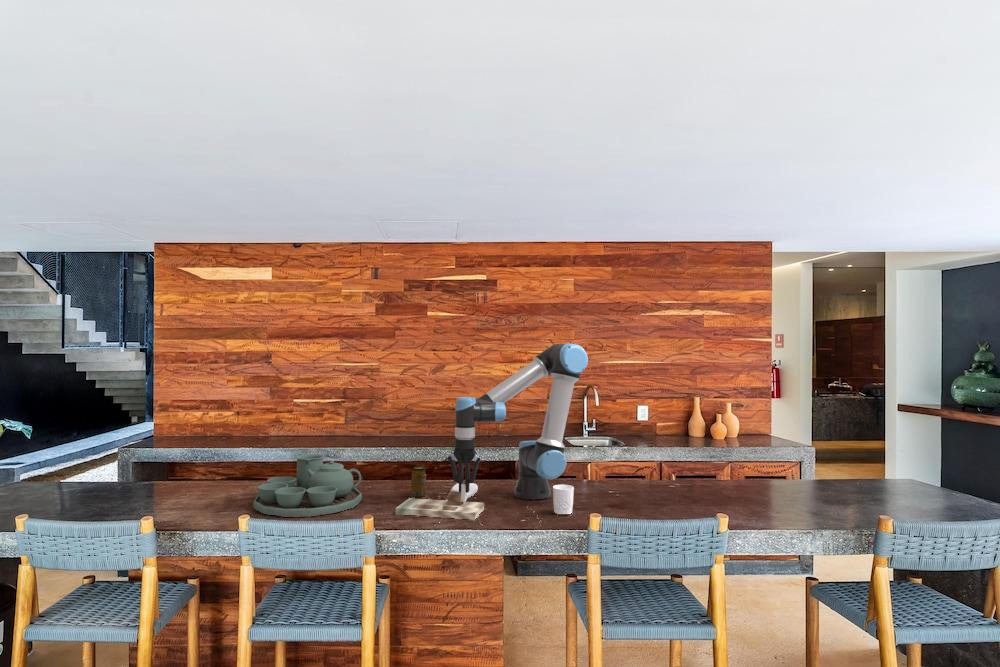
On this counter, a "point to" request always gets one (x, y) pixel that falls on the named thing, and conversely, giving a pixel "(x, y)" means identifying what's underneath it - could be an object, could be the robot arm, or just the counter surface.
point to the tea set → (309, 489)
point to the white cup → (563, 499)
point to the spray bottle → (472, 489)
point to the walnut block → (454, 498)
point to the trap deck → (440, 509)
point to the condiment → (418, 482)
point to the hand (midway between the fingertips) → (463, 500)
